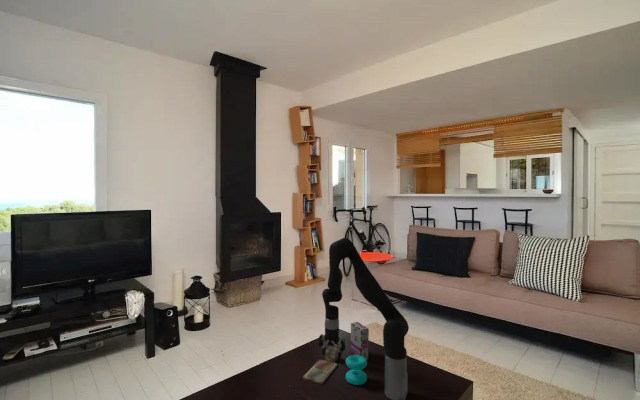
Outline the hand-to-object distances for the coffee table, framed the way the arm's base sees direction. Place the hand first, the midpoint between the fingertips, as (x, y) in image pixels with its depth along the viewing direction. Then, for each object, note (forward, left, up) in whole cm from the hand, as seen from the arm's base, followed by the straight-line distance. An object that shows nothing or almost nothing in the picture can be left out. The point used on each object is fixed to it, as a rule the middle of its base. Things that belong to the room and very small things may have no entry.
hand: (331, 356), depth 169 cm
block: (0, 0, -2) cm, 2 cm away
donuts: (-18, +13, -2) cm, 22 cm away
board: (0, +14, -1) cm, 14 cm away
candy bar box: (-12, -10, -2) cm, 16 cm away
